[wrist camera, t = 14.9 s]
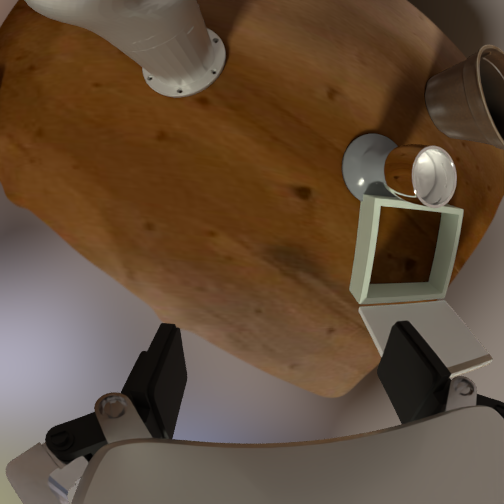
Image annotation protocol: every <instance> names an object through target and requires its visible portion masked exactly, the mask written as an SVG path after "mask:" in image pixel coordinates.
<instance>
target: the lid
mask: <svg viewBox="0 0 504 504" xmlns="http://www.w3.org/2000/svg"><path fill="white" fill-rule="evenodd" d="M359 313H360V315H361V317H362V319H363V321H364V323H365V325H366V327H367V329H368V331H369V333H370V335H371V337H372V339H373V341H374V343H375V345H376V347H377V349H378V351H379V353H380V355H381V357H382V355H383V352H384V349H385V346H386V343H387V340H388V337H389V334H390V331H391V328H392V326H393V325H395V323H396V322H397V321H405V320H408V321H409V322H410V323H411V324H412V325H413V326H414V328H415V329H416V330H417V331H418V332H419V334H420V335H421V336H422V337H423V338H424V340H425V341H426V342H427V343H428V344H429V346H430V347H431V348H432V349H433V351H434V352H435V353H436V354H437V356H438V357H439V358H440V359H441V361H442V362H443V363H444V365H445V366H446V367H447V368H448V370H449V371H450V372H451V376H450V378H452V377H455V376H458V375H461V374H464V373H467V372H470V371H473V370H475V369H478V368H481V367H483V366H486V365H488V364H490V363H491V361H492V360H493V358H492V357H491V356H490V354H489V353H488V352H487V351H486V349H485V348H484V346H482V344H481V343H480V341H479V340H478V339H477V338H476V336H475V335H474V334H473V333H472V331H471V330H470V329H469V328H468V326H467V325H466V324H465V323H464V322H463V321H462V319H461V318H460V317H459V316H458V315H457V314H456V312H455V311H454V310H453V309H452V308H451V307H450V305H449V304H448V303H447V302H446V301H445V300H444V301H434V302H423V303H411V304H398V305H383V306H366V307H359Z"/></svg>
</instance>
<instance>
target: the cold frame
mask: <svg viewBox="0 0 504 504" xmlns="http://www.w3.org/2000/svg"><path fill="white" fill-rule="evenodd" d="M381 206H387V207H398V208H408V209H417V210H426V211H434V212H442V214H441V221H440V227H439V234H438V239H437V245H436V250H435V255H434V260H433V264H432V269H431V273H430V277H429V281H428V282H417V283H390V284H369V282H370V277H371V271H372V266H373V260H374V254H375V247H376V240H377V233H378V225H379V216H380V207H381ZM463 210H464V209H461V208H458V207H455V206H452V205H448V204H445V205H444V206H442V207H440V208H430V207H427V206H422V205H417V204H413V203H410V202H407V201H404V200H402V199H400V198H398V197H386V196H377V195H366V194H363V201H361V204H360V215H359V225H358V234H357V242H356V250H355V257H354V264H353V270H352V277H351V283H350V289H349V290H350V292H351V293H352V294H353V296H354V297H355V299H356V300H357V302H358V303H359V304H373V303H390V302H405V301H418V300H430V299H441V298H445V295H446V292H447V288H448V285H449V281H450V277H451V273H452V269H453V265H454V261H455V256H456V251H457V247H458V241H459V236H460V230H461V224H462V218H463Z"/></svg>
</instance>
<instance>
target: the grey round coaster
mask: <svg viewBox="0 0 504 504" xmlns="http://www.w3.org/2000/svg"><path fill="white" fill-rule="evenodd" d="M395 147H398V146H397V145H396V144H395V143H394V142H393V141H392V140H390V139H389V138H387V137H385V136H383V135H380V134H366V135H362V136H359V137H358V138H356V139H355V140H353V141H352V142H351V143H350V144H349V146H348V147H347V149H346V151H345V153H344V155H343V159H342V175H343V179H344V182H345V184H346V186H347V188H348V189H349V191H350V192H351V193H352V194H353V195H354V196H355V197H356V198H357V199H359V200H360V201H363V194H366V195H377V196H386V197H396V196H395V195H394V194H392V193H391V192H389V191H388V190H387V189H385V188H383V189H375V188H372V187H370V186H369V185H367V184H366V183H365V182H364V180H363V178H362V176H361V173H360V162H361V159H362V157H363V156H364V154H365V153H367V152H368V151H370V150H372V149H380V150H383V151H388V150H391V149H393V148H395Z"/></svg>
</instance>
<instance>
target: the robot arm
mask: <svg viewBox="0 0 504 504" xmlns="http://www.w3.org/2000/svg"><path fill="white" fill-rule="evenodd" d="M25 1H26V2H27V4H28V5H29V6H30V7H31V8H33V9H34V10H35V11H36V12H38V13H40V14H42V15H44V16H46V17H48V18H51V19H54V20H57V21H60V22H64V23H68V24H72V25H76V26H80V27H83V28H86V29H88V30H90V31H92V32H94V33H96V34H98V35H100V36H101V37H103V38H104V39H106V40H107V41H109V42H110V43H111V44H113V45H114V46H115V47H117V48H118V49H120V50H121V51H122V52H124V53H125V54H126V55H128V56H129V57H130V58H131V59H133V60H134V61H135V62H137V63H138V64H139V65H140V66H142V71H143V75H144V78H145V80H146V82H147V84H148V85H149V86H150V87H151V88H152V89H153V90H155V91H156V92H158V93H160V94H162V95H165V96H168V97H186V96H190V95H193V94H196V93H199V92H200V91H202V90H204V89H206V88H207V87H208V86H210V85H211V84H212V83H213V82H214V81H215V80H216V79H217V78H218V77H219V75H220V73H221V72H222V70H223V67H224V65H225V60H226V51H225V47H224V44H223V42H222V40H221V39H220V37H219V36H218V35H217V34H216V33H215V32H213V31H212V30H210V29H208V28H206V25H205V23H204V20H203V17H202V14H201V11H200V9H199V4H198V3H197V1H196V0H25ZM215 42H217V43H215ZM214 72H216V74H213V73H214ZM152 78H153V79H152ZM151 79H152V80H151ZM180 91H183V92H182V93H180ZM377 374H378V377H379V379H380V381H381V383H382V384H383V386H384V388H385V390H386V392H387V394H388V396H389V398H390V400H391V403H392V405H393V407H394V409H395V411H396V413H397V415H398V417H399V419H400V421H401V423H402V424H401V425H398V426H394V427H390V428H386V429H381V430H377V431H372V432H367V433H362V434H356V435H351V436H345V437H338V438H331V439H324V440H315V441H304V442H289V443H266V444H240V443H213V442H199V441H188V440H175V439H172V438H173V434H174V430H175V426H176V421H177V417H178V413H179V409H180V405H181V401H182V398H183V394H184V390H185V386H186V382H187V371H186V365H185V359H184V352H183V346H182V339H181V332H180V328H176V326H175V324H167V323H161V325H160V327H159V329H158V331H157V333H156V335H155V337H154V339H153V341H152V343H151V345H150V347H149V349H148V351H142V352H141V353H140V355H139V357H138V359H137V361H136V363H135V365H134V367H133V369H132V371H131V373H130V375H129V377H128V379H127V381H126V383H125V385H124V387H123V389H122V391H121V393H108V394H105V395H103V396H101V397H100V398H99V399H98V400H97V402H96V403H95V407H94V409H95V412H93V413H90V414H88V415H85V416H82V417H80V418H77V419H75V420H71V421H68V422H66V423H63V424H60V425H57V426H55V427H53V428H51V429H50V430H49V431H48V433H47V434H46V439H45V441H46V442H45V443H43V444H42V445H41V443H37V444H36V445H34V446H33V447H32V448H30V449H29V450H27V451H25V452H24V453H22V454H21V455H19V456H18V457H16V458H15V459H13V460H12V461H10V462H9V463H8V465H7V467H6V475H7V477H8V480H9V482H10V483H11V485H12V487H13V488H14V490H15V492H16V493H17V494H18V496H19V498H20V499H21V501H22V502H23V504H70V503H69V501H68V498H67V495H68V491H69V490H70V489H71V488H72V487H73V486H74V485H76V483H75V481H77V480H78V479H79V478H81V479H80V481H79V484H78V486H77V489H76V492H75V495H74V497H73V500H72V503H71V504H504V403H503V402H501V401H498V400H494V399H491V398H488V397H485V396H482V395H479V394H477V387H476V385H475V383H474V382H473V381H472V380H470V379H469V378H467V377H464V376H457V377H455V378H453V379H452V380H451V379H450V376H451V372H450V371H449V370H448V368H447V367H446V366H445V365H444V363H443V362H442V361H441V359H440V358H439V357H438V356H437V354H436V353H435V352H434V351H433V349H432V348H431V347H430V346H429V344H428V343H427V342H426V341H425V340H424V338H423V337H422V336H421V335H420V334H419V332H418V331H417V330H416V329H415V328H414V326H413V325H412V324H411V323H410V322H409V321H408V320H405V321H397V322H396V323H395V325H393V326H392V328H391V331H390V334H389V337H388V340H387V343H386V346H385V349H384V352H383V355H382V358H381V361H380V364H379V366H378V369H377Z"/></svg>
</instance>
